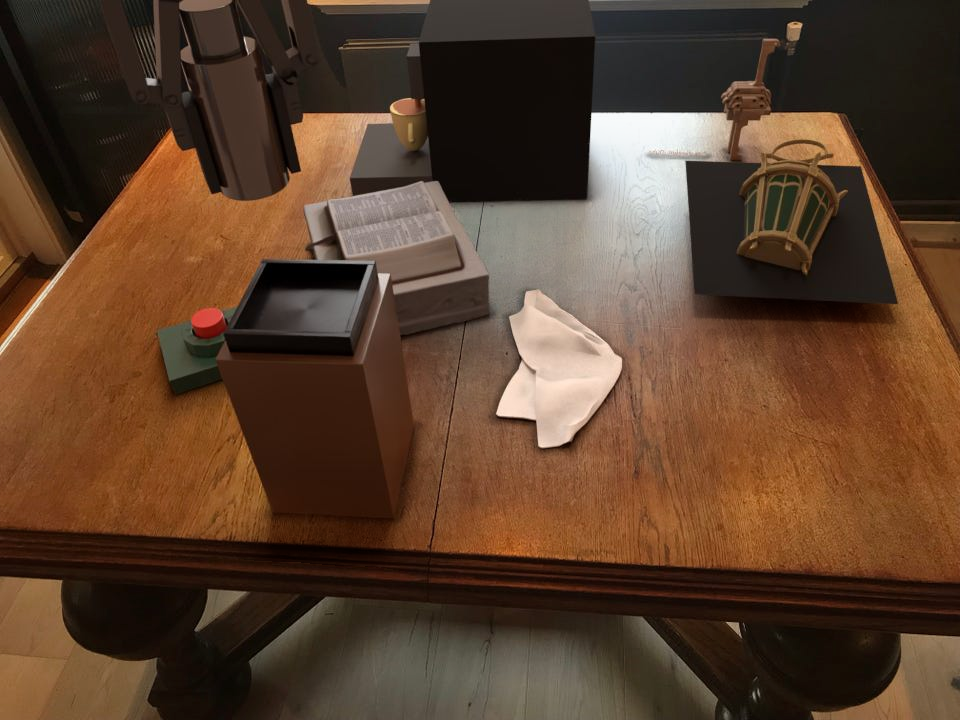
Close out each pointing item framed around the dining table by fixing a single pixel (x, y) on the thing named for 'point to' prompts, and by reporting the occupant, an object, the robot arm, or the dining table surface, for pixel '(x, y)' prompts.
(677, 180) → the dining table surface
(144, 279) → the dining table surface
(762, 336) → the dining table surface
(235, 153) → the metal bottle
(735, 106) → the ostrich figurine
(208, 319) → the button
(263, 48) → the robot arm
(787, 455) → the dining table surface
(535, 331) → the cloth
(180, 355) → the base
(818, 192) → the lantern
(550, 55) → the coffee maker
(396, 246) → the bible
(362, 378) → the brown pedestal
